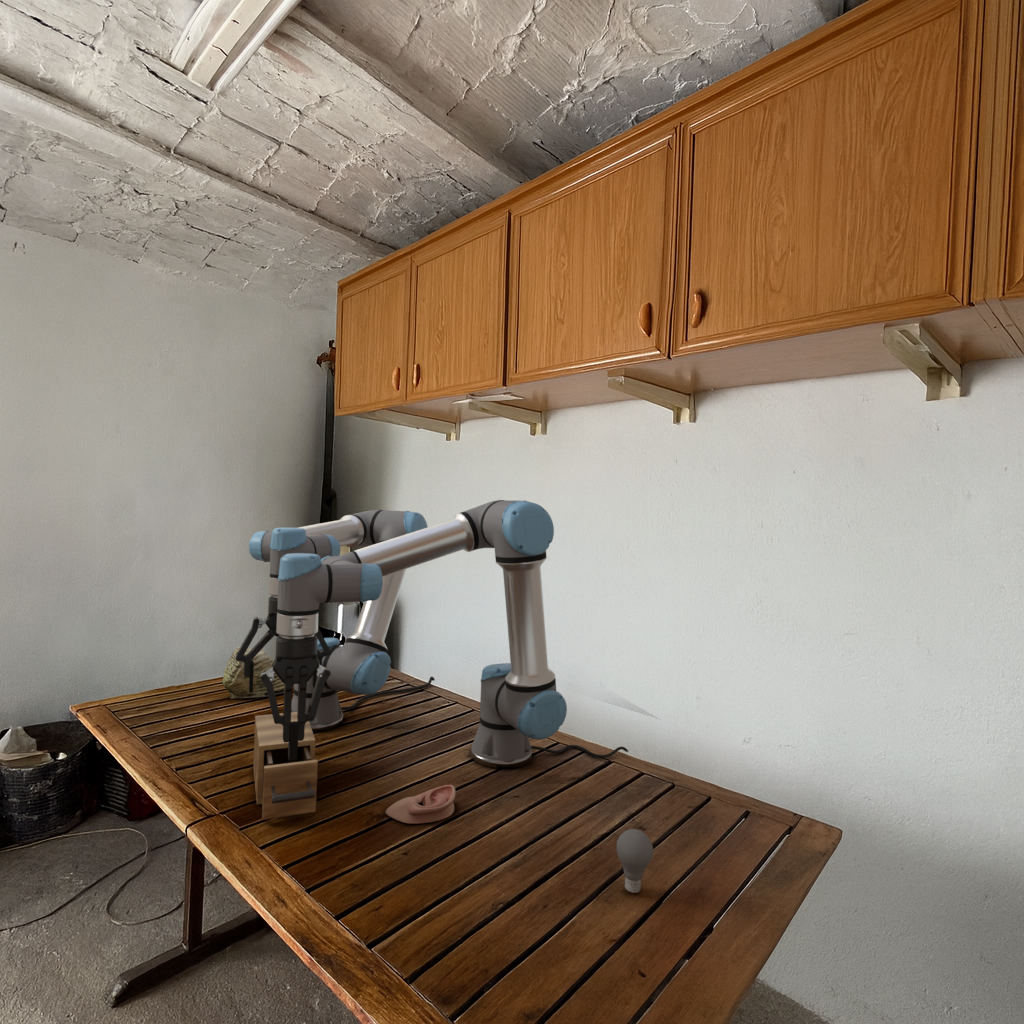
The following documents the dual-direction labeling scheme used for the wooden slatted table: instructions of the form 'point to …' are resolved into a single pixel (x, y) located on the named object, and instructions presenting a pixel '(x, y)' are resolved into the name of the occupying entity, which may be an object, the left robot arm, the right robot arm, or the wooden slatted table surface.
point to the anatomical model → (424, 806)
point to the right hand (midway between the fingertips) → (292, 757)
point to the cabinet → (274, 745)
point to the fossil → (240, 683)
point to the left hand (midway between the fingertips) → (282, 688)
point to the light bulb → (634, 857)
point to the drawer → (288, 783)
